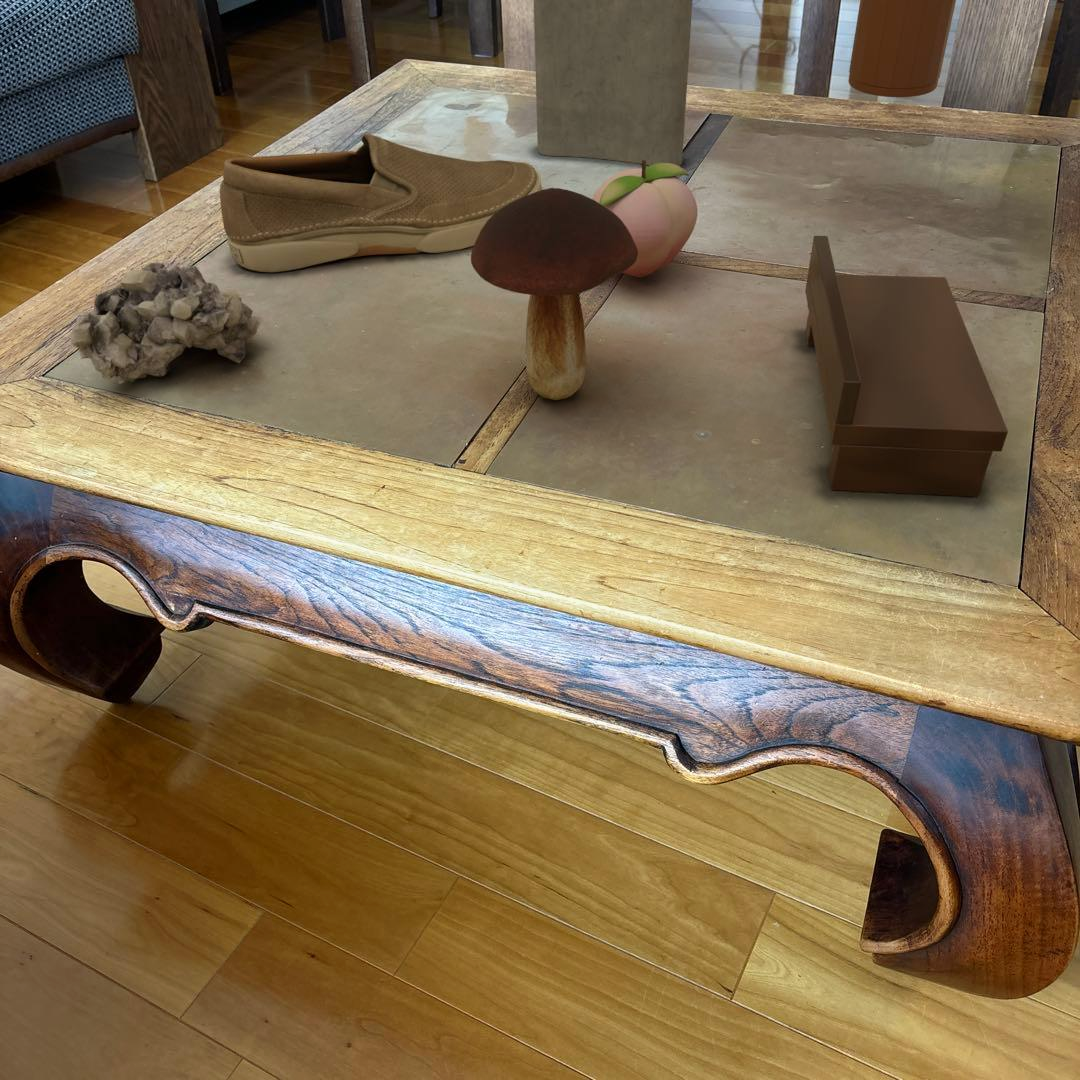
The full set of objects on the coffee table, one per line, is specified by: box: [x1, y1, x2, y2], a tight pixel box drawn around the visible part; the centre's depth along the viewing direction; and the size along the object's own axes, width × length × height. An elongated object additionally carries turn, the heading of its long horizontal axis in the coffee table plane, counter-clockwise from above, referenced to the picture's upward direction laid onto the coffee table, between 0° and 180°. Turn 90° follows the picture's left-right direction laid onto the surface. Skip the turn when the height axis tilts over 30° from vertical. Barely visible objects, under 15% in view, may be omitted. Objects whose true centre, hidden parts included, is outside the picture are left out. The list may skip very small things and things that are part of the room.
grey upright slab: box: [533, 0, 693, 167], centre depth 103 cm, size 16×4×20 cm, turn 70°
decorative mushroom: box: [470, 187, 638, 401], centre depth 69 cm, size 11×11×15 cm
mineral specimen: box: [69, 261, 263, 384], centre depth 76 cm, size 12×9×10 cm
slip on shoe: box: [219, 133, 543, 273], centre depth 93 cm, size 30×11×9 cm, turn 106°
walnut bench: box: [804, 235, 1009, 498], centre depth 69 cm, size 10×20×8 cm, turn 174°
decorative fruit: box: [591, 160, 698, 278], centre depth 85 cm, size 9×8×10 cm
